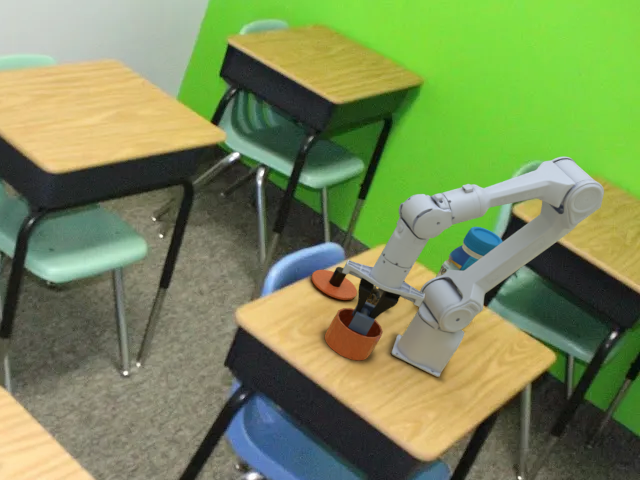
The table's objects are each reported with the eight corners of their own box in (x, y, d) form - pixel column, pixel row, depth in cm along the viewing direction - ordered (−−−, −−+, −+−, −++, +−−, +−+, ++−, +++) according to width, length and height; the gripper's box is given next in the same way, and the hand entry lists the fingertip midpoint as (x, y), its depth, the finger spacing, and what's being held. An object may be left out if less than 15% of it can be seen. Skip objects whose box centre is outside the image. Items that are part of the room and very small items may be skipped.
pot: (372, 345, 178) (386, 323, 175) (364, 367, 171) (378, 344, 168) (330, 323, 180) (342, 302, 177) (320, 344, 173) (332, 322, 170)
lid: (358, 288, 194) (368, 271, 191) (349, 308, 187) (359, 290, 184) (315, 268, 196) (325, 250, 194) (305, 286, 189) (314, 269, 186)
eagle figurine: (396, 319, 186) (409, 295, 191) (391, 289, 182) (404, 265, 188) (358, 318, 190) (371, 294, 196) (352, 288, 187) (366, 265, 193)
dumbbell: (352, 313, 175) (360, 298, 173) (369, 320, 174) (377, 306, 173) (347, 328, 170) (356, 313, 168) (365, 336, 170) (374, 321, 168)
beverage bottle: (444, 331, 189) (497, 251, 177) (409, 308, 193) (459, 228, 181) (462, 321, 194) (514, 242, 183) (427, 298, 199) (477, 220, 187)
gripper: (438, 266, 166) (401, 325, 173) (361, 232, 168) (328, 292, 176) (436, 283, 160) (398, 343, 168) (356, 248, 163) (322, 309, 171)
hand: (362, 318), depth 172 cm, fingers closed on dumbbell, 2 cm apart
